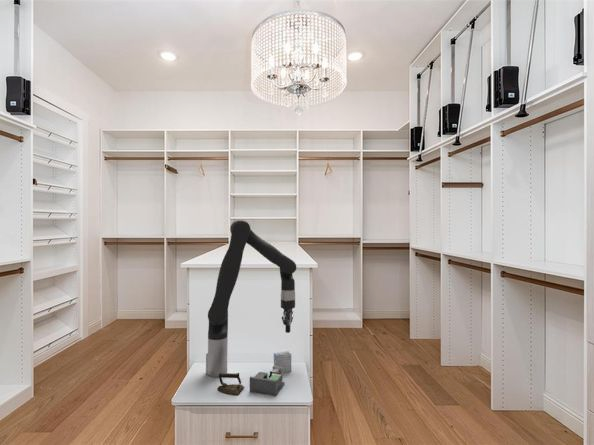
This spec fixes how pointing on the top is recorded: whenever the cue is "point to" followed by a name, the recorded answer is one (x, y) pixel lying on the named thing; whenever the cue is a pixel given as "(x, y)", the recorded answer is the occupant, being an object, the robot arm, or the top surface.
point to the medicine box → (283, 361)
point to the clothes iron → (230, 389)
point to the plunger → (275, 370)
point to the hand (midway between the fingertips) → (287, 332)
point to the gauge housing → (266, 384)
